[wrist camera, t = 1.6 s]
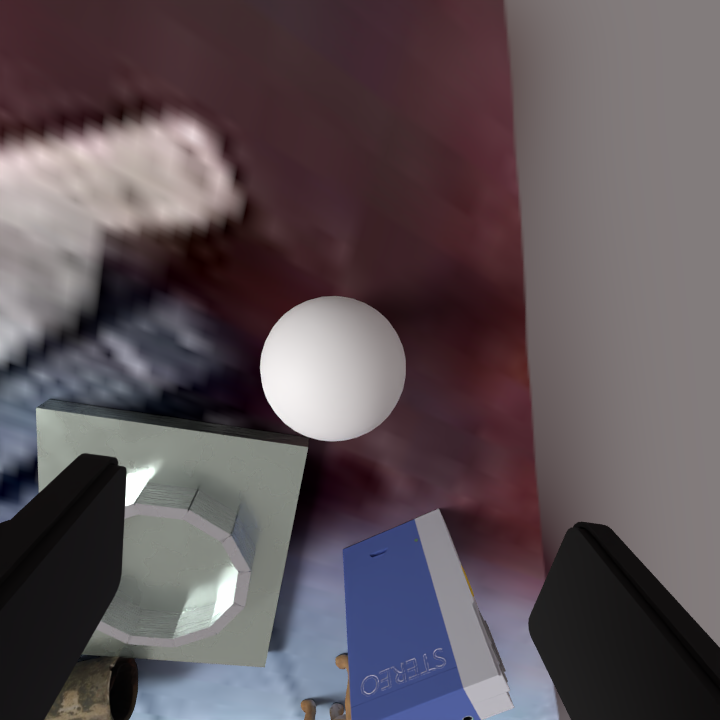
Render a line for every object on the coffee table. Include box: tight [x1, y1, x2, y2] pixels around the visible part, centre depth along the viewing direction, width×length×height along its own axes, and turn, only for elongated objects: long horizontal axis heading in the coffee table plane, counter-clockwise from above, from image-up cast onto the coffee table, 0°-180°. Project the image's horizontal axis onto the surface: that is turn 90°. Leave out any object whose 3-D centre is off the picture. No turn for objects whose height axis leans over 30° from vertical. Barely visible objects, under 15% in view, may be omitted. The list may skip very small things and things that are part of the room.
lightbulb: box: [260, 296, 406, 441], centre depth 20 cm, size 6×6×11 cm
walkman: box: [343, 509, 514, 720], centre depth 26 cm, size 8×3×12 cm, turn 114°
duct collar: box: [36, 399, 309, 667], centre depth 28 cm, size 20×16×3 cm
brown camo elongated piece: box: [44, 656, 138, 720], centre depth 31 cm, size 18×7×6 cm, turn 97°
